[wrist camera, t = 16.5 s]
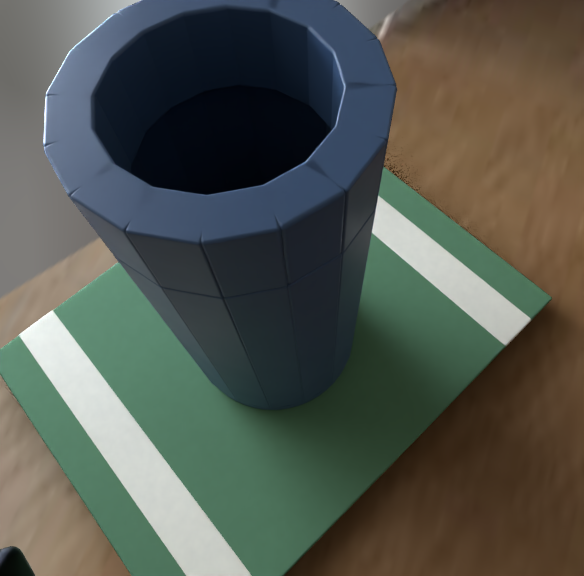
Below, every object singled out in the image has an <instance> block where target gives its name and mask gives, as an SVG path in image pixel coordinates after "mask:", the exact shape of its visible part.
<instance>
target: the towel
mask: <svg viewBox="0 0 584 576" xmlns="http://www.w3.org/2000/svg"><path fill="white" fill-rule="evenodd" d="M551 300H552V297H551V296H549V295H548V294H547V293H545V292H544V291H543V290H542V289H540V288H539V287H538V286H536V285H535V284H534V283H533V282H531V281H530V280H529V279H527V278H526V277H525V276H524V275H522V274H521V273H520V272H518V271H517V270H516V269H515V268H513V267H512V266H511V265H509V264H508V263H507V262H506V261H504V260H503V259H502V258H500V257H499V256H498V255H497V254H495V253H494V252H493V251H491V250H490V249H489V248H488V247H486V246H485V245H484V244H482V243H481V242H480V241H479V240H477V239H476V238H475V237H473V236H472V235H471V234H470V233H468V232H467V231H466V230H464V229H463V228H462V227H461V226H459V225H458V224H457V223H455V222H454V221H453V220H452V219H450V218H449V217H448V216H446V215H445V214H444V213H443V212H441V211H440V210H439V209H437V208H436V207H435V206H434V205H432V204H431V203H430V202H428V201H427V200H426V199H425V198H423V197H422V196H421V195H419V194H418V193H417V192H416V191H414V190H413V189H412V188H410V187H409V186H408V185H407V184H405V183H404V182H403V181H401V180H400V179H399V178H398V177H396V176H395V175H394V174H392V173H391V172H390V171H389V170H387V169H386V168H385V167H383V172H382V177H381V183H380V189H379V195H378V200H377V206H376V212H375V217H374V223H373V229H372V234H371V240H370V246H369V252H368V257H367V263H366V269H365V274H364V280H363V286H362V291H361V297H360V303H359V309H358V314H357V320H356V326H355V331H354V337H353V343H352V348H351V354H350V357H349V359H348V361H347V363H346V366H345V367H344V369H343V371H342V373H341V374H340V376H339V377H338V378H337V379H336V381H335V382H334V383H333V384H332V385H331V386H330V387H329V388H328V389H327V390H326V391H325V392H323V393H322V394H321V395H319V396H318V397H316V398H314V399H313V400H311V401H309V402H307V403H304V404H302V405H299V406H296V407H292V408H288V409H280V410H264V409H257V408H253V407H249V406H246V405H243V404H241V403H239V402H237V401H235V400H233V399H231V398H230V397H228V396H227V395H225V394H224V393H223V392H222V391H221V390H219V389H218V388H217V387H216V386H215V385H213V384H212V383H211V382H210V380H209V379H208V378H207V376H206V375H205V374H204V372H203V371H202V370H201V369H200V367H199V366H198V365H197V363H196V362H195V361H194V359H193V358H192V357H191V355H190V354H189V353H188V352H187V350H186V349H185V348H184V346H183V345H182V344H181V342H180V341H179V340H178V339H177V337H176V336H175V335H174V333H173V332H172V331H171V329H170V328H169V327H168V325H167V324H166V323H165V322H164V320H163V319H162V318H161V316H160V315H159V314H158V312H157V311H156V310H155V309H154V307H153V306H152V305H151V303H150V302H149V301H148V299H147V298H146V297H145V295H144V294H143V293H142V292H141V290H140V289H139V288H138V286H137V285H136V284H135V282H134V281H133V280H132V279H131V277H130V276H129V275H128V273H127V272H126V271H125V269H124V268H123V267H122V265H121V264H120V263H119V262H118V263H117V264H115V265H114V266H113V267H111V268H110V269H109V270H107V271H106V272H105V273H103V274H102V275H100V276H99V277H98V278H96V279H95V280H94V281H92V282H91V283H90V284H88V285H87V286H86V287H84V288H83V289H81V290H80V291H79V292H77V293H76V294H75V295H73V296H72V297H71V298H69V299H68V300H67V301H65V302H64V303H62V304H61V305H60V306H58V307H57V308H56V309H54V310H53V311H51V312H49V313H48V314H47V315H45V316H44V317H42V318H41V319H40V320H38V321H37V322H36V323H34V324H33V325H32V326H30V327H29V328H27V329H26V330H25V331H23V332H22V333H21V334H20V335H19V336H18V337H16V338H15V339H14V340H12V341H11V342H9V343H8V344H7V345H5V346H4V347H3V348H1V349H0V375H1V376H2V378H3V379H4V381H5V382H6V384H7V385H8V387H9V388H10V390H11V391H12V393H13V395H14V396H15V398H16V399H17V401H18V402H19V404H20V405H21V407H22V408H23V410H24V411H25V413H26V414H27V416H28V418H29V419H30V421H31V422H32V424H33V425H34V427H35V428H36V430H37V431H38V433H39V434H40V436H41V437H42V439H43V441H44V442H45V444H46V445H47V447H48V448H49V450H50V451H51V453H52V454H53V456H54V457H55V459H56V460H57V462H58V464H59V465H60V467H61V468H62V470H63V471H64V473H65V474H66V476H67V477H68V479H69V480H70V482H71V483H72V485H73V487H74V488H75V490H76V491H77V493H78V494H79V496H80V497H81V499H82V500H83V502H84V503H85V505H86V506H87V508H88V510H89V511H90V513H91V514H92V516H93V517H94V519H95V520H96V522H97V523H98V525H99V526H100V528H101V529H102V531H103V533H104V534H105V536H106V537H107V539H108V540H109V542H110V543H111V545H112V546H113V548H114V549H115V551H116V552H117V554H118V556H119V557H120V559H121V560H122V562H123V563H124V565H125V566H126V568H127V569H128V571H129V572H130V574H131V575H132V576H284V575H285V574H286V573H287V572H288V571H289V570H290V569H291V568H292V567H293V566H294V565H295V564H296V563H297V562H298V561H299V560H300V559H301V558H302V557H303V556H304V554H305V553H306V552H307V551H308V550H309V549H310V548H311V547H312V546H313V545H314V544H315V543H316V542H317V541H318V540H319V539H320V538H321V537H322V536H323V535H324V534H325V533H326V532H327V531H328V530H329V529H330V528H331V527H332V526H333V525H334V524H335V523H336V521H337V520H338V519H339V518H340V517H341V516H342V515H343V514H344V513H345V512H346V511H347V510H348V509H349V508H350V507H351V506H352V505H353V504H354V503H355V502H356V501H357V500H358V499H359V498H360V497H361V496H362V495H363V494H364V493H365V492H366V491H367V489H368V488H369V487H370V486H371V485H372V484H373V483H374V482H375V481H376V480H377V479H378V478H379V477H380V476H381V475H382V474H383V473H384V472H385V471H386V470H387V469H388V468H389V467H390V466H391V465H392V464H393V463H394V462H395V461H396V460H397V459H398V458H399V456H400V455H401V454H402V453H403V452H404V451H405V450H406V449H407V448H408V447H409V446H410V445H411V444H412V443H413V442H414V441H415V440H416V439H417V438H418V437H419V436H420V435H421V434H422V433H423V432H424V431H425V430H426V429H427V428H428V427H429V426H430V424H431V423H432V422H433V421H434V420H435V419H436V418H437V417H438V416H439V415H440V414H441V413H442V412H443V411H444V410H445V409H446V408H447V407H448V406H449V405H450V404H451V403H452V402H453V401H454V400H455V399H456V398H457V397H458V396H459V395H460V394H461V393H462V391H463V390H464V389H465V388H466V387H467V386H468V385H469V384H470V383H471V382H472V381H473V380H474V379H475V378H476V377H477V376H478V375H479V374H480V373H481V372H482V371H483V370H484V369H485V368H486V367H487V366H488V365H489V364H490V363H491V362H492V361H493V359H494V358H495V357H496V356H497V355H498V354H499V353H500V352H501V351H502V350H503V349H504V348H505V347H506V346H507V345H508V344H509V343H510V342H511V341H512V340H513V339H514V338H515V337H516V336H517V335H518V334H519V333H520V332H521V331H522V330H523V329H524V328H525V326H526V325H527V324H528V323H529V322H530V321H531V320H532V319H533V318H534V317H535V316H536V315H537V314H538V313H539V312H540V311H541V310H542V309H543V308H544V307H545V306H546V305H547V304H548V303H549V302H550V301H551Z"/></svg>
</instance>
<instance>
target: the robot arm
mask: <svg viewBox="0 0 584 576" xmlns="http://www.w3.org/2000/svg"><path fill="white" fill-rule="evenodd" d="M0 576H35V574H34V572H33V571H32V569H31V567H30V565H29V563H28V562H27V560H26V558H25V556H24V555H23V553H22V552H21V550H20V549H19V548H17V547H14V546H10V547H7V548H3V549H0Z"/></svg>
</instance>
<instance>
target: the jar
mask: <svg viewBox="0 0 584 576" xmlns="http://www.w3.org/2000/svg"><path fill="white" fill-rule="evenodd" d="M396 92H397V87H396V83H395V80H394V78H393V75H392V72H391V70H390V67H389V64H388V62H387V59H386V56H385V54H384V51H383V48H382V46H381V43H380V40H378V39H377V37H376V36H375V35H374V34H373V33H372V32H371V31H370V30H369V29H368V28H366V27H365V26H364V25H363V24H362V23H361V22H360V21H359V20H358V19H356V18H355V17H354V16H353V15H352V14H351V13H350V12H349V11H348V10H347V9H346V8H345V7H343V6H342V5H340V3H339V2H337V1H334V0H141V1H139V2H137V3H135V4H132V5H130V6H128V7H126V8H123V9H121V10H119V11H118V13H114V14H113V15H111V16H110V17H109V18H108V19H107V20H105V21H104V22H103V23H102V24H101V25H100V26H98V27H97V28H96V29H95V30H94V31H93V32H91V33H90V34H89V35H88V36H87V37H85V38H84V39H83V40H82V41H80V42H79V43H78V44H77V45H76V46H75V47H74V49H71V50H70V52H69V54H68V55H67V57H66V59H65V61H64V62H63V64H62V66H61V68H60V69H59V71H58V73H57V75H56V77H55V78H54V80H53V82H52V84H51V85H50V87H49V89H48V91H47V92H46V100H45V101H46V102H45V121H44V142H43V145H44V152H45V154H46V155H47V157H48V159H49V161H50V163H51V165H52V167H53V169H54V170H55V172H56V174H57V176H58V178H59V180H60V181H61V183H62V185H63V187H64V189H65V191H66V192H67V194H68V196H69V197H70V199H71V200H72V201H73V203H74V204H75V205H76V207H77V208H78V209H79V210H80V212H81V213H82V214H83V216H84V217H85V218H86V219H87V221H88V222H89V224H90V225H91V226H92V227H93V229H94V230H95V231H96V233H97V234H98V235H99V237H100V238H101V239H102V240H103V242H104V243H105V244H106V246H107V247H108V248H109V250H110V251H111V252H112V253H113V255H114V256H115V258H116V259H117V260H118V262H119V263H120V264H121V265H122V267H123V268H124V269H125V271H126V272H127V273H128V275H129V276H130V277H131V279H132V280H133V281H134V282H135V284H136V285H137V286H138V288H139V289H140V290H141V292H142V293H143V294H144V295H145V297H146V298H147V299H148V301H149V302H150V303H151V305H152V306H153V307H154V309H155V310H156V311H157V312H158V314H159V315H160V316H161V318H162V319H163V320H164V322H165V323H166V324H167V325H168V327H169V328H170V329H171V331H172V332H173V333H174V335H175V336H176V337H177V339H178V340H179V341H180V342H181V344H182V345H183V346H184V348H185V349H186V350H187V352H188V353H189V354H190V355H191V357H192V358H193V359H194V361H195V362H196V363H197V365H198V366H199V367H200V369H201V370H202V371H203V372H204V374H205V375H206V376H207V378H208V379H209V380H210V382H211V383H212V384H213V385H215V386H216V387H217V388H218V389H219V390H221V391H222V392H223V393H224V394H225V395H227V396H228V397H230V398H231V399H233V400H235V401H237V402H239V403H241V404H243V405H246V406H249V407H253V408H257V409H264V410H280V409H288V408H292V407H296V406H299V405H302V404H304V403H307V402H309V401H311V400H313V399H314V398H316V397H318V396H319V395H321V394H322V393H323V392H325V391H326V390H327V389H328V388H329V387H330V386H331V385H332V384H333V383H334V382H335V381H336V379H337V378H338V377H339V376H340V374H341V373H342V371H343V369H344V367H345V366H346V363H347V361H348V359H349V357H350V354H351V348H352V343H353V337H354V331H355V326H356V320H357V314H358V309H359V303H360V297H361V291H362V286H363V280H364V274H365V269H366V263H367V257H368V252H369V246H370V240H371V234H372V229H373V223H374V217H375V212H376V206H377V200H378V195H379V189H380V183H381V177H382V172H383V166H384V160H385V155H386V149H387V143H388V138H389V132H390V126H391V120H392V115H393V109H394V103H395V97H396Z"/></svg>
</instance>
